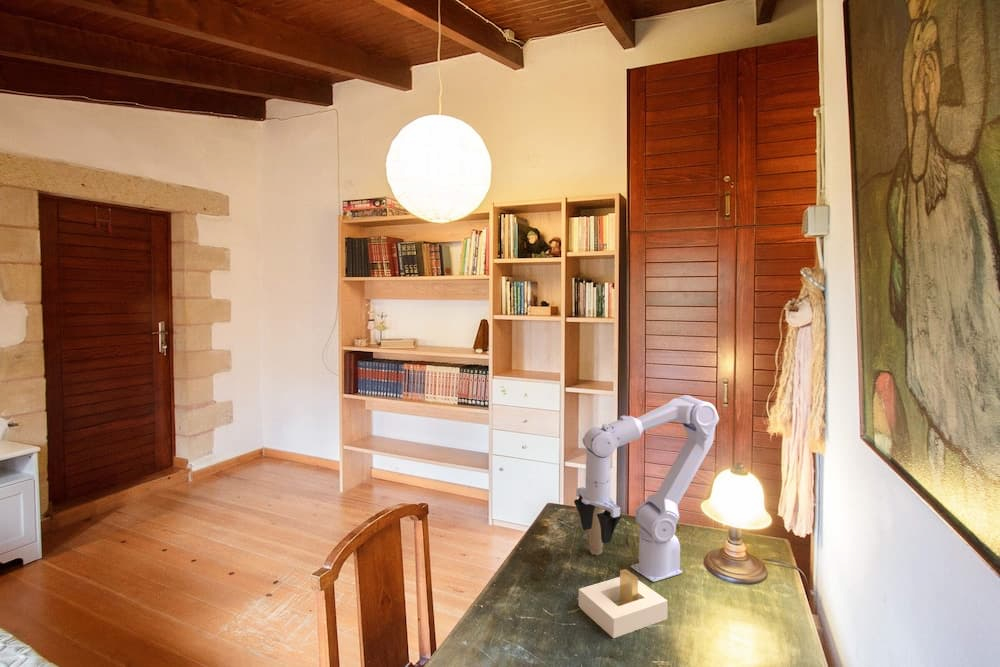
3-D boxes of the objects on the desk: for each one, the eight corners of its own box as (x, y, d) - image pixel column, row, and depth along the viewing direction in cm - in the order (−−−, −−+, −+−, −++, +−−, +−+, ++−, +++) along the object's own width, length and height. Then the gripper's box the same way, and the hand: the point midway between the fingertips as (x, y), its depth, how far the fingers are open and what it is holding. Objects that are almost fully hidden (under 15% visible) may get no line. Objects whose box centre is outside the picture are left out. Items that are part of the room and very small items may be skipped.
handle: (611, 556, 138) (611, 500, 137) (586, 558, 137) (587, 501, 136) (605, 547, 143) (605, 493, 142) (581, 549, 142) (582, 494, 141)
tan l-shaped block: (625, 605, 117) (625, 569, 116) (637, 615, 113) (638, 577, 112) (606, 611, 114) (607, 574, 114) (618, 621, 111) (619, 583, 110)
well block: (629, 590, 122) (629, 573, 122) (667, 619, 112) (667, 600, 111) (578, 606, 116) (578, 588, 116) (613, 638, 105) (613, 618, 105)
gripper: (566, 472, 131) (565, 526, 132) (603, 492, 118) (601, 551, 119) (590, 468, 134) (588, 521, 135) (628, 487, 121) (626, 545, 122)
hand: (596, 535), depth 127 cm, fingers open, 7 cm apart
